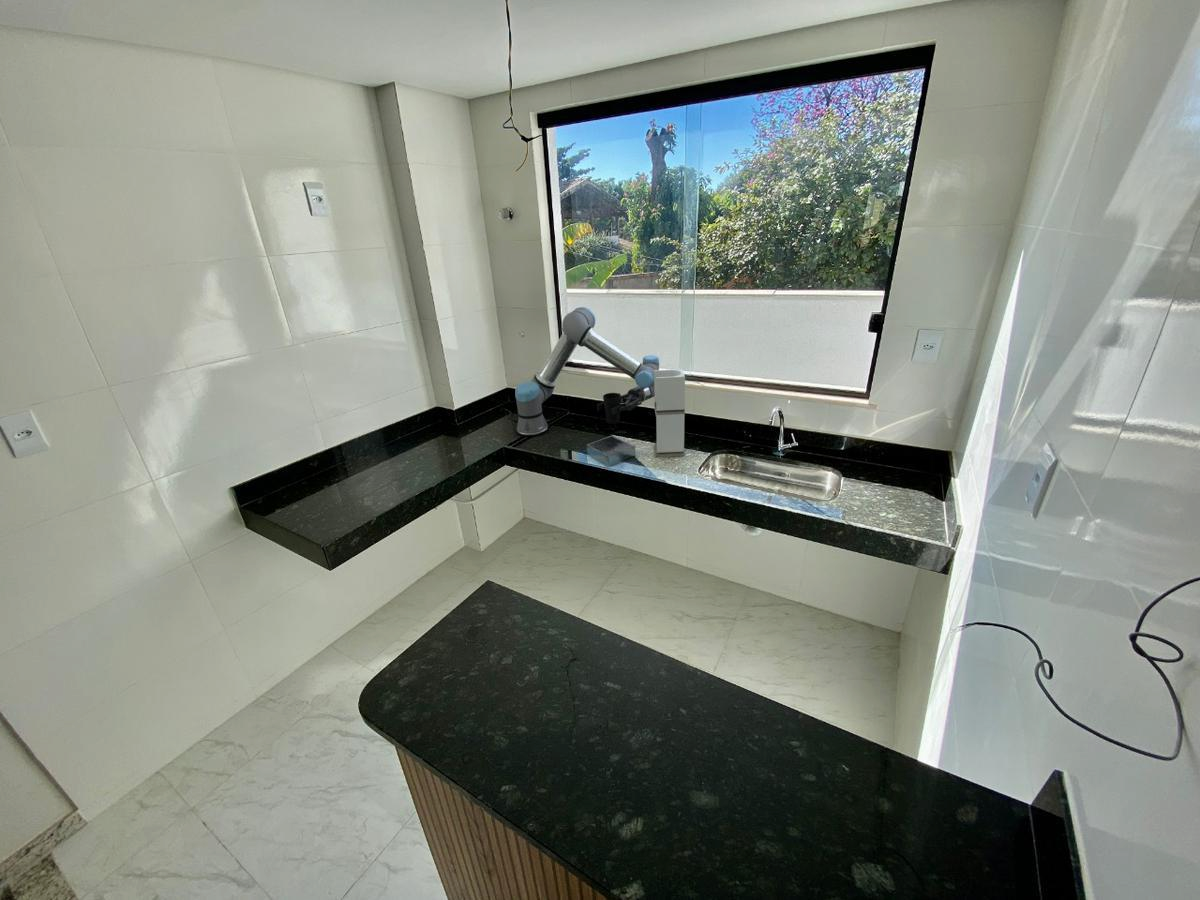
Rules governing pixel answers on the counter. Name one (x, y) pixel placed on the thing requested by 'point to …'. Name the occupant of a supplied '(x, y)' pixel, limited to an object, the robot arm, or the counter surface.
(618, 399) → the cup
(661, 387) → the grey square pillar
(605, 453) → the translucent shallow box
